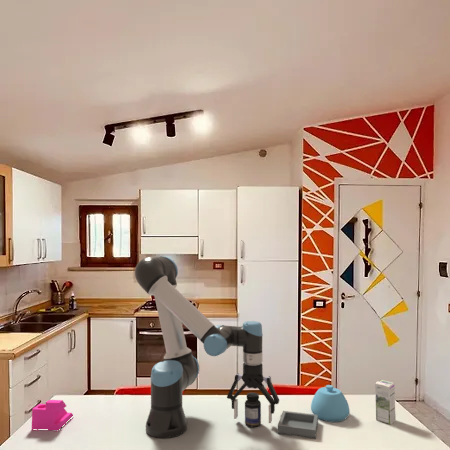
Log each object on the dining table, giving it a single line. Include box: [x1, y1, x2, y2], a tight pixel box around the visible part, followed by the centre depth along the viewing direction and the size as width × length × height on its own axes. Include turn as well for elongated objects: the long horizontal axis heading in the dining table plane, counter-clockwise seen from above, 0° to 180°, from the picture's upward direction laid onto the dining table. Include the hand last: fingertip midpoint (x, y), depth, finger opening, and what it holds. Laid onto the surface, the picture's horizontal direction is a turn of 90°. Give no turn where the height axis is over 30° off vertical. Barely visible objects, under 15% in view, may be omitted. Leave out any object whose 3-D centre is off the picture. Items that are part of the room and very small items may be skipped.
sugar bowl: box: [310, 384, 351, 423], centre depth 160 cm, size 15×15×12 cm
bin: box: [277, 410, 319, 440], centre depth 148 cm, size 13×13×3 cm
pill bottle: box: [244, 392, 262, 428], centre depth 151 cm, size 6×6×11 cm
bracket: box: [31, 399, 74, 431], centre depth 152 cm, size 12×10×10 cm
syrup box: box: [374, 379, 396, 425], centre depth 155 cm, size 6×6×14 cm
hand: (252, 419), depth 151 cm, fingers open, 13 cm apart
